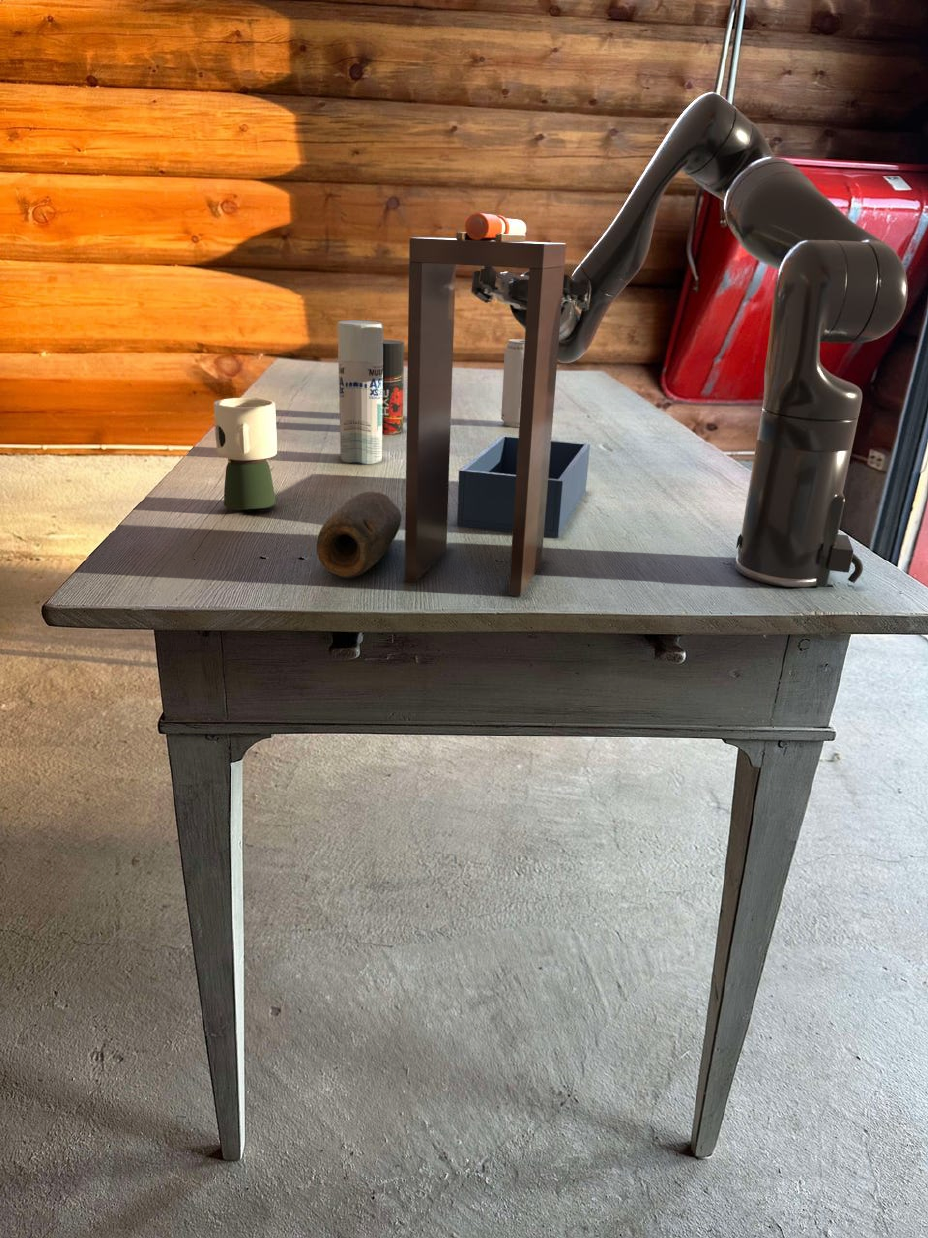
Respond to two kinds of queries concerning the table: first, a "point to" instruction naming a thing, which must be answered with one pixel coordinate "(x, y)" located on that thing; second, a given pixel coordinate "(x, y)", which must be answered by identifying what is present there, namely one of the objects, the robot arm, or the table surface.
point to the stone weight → (358, 534)
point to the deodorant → (392, 387)
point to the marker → (492, 226)
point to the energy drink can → (512, 382)
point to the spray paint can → (360, 390)
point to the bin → (494, 481)
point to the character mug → (246, 450)
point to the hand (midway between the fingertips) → (522, 276)
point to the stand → (434, 391)
